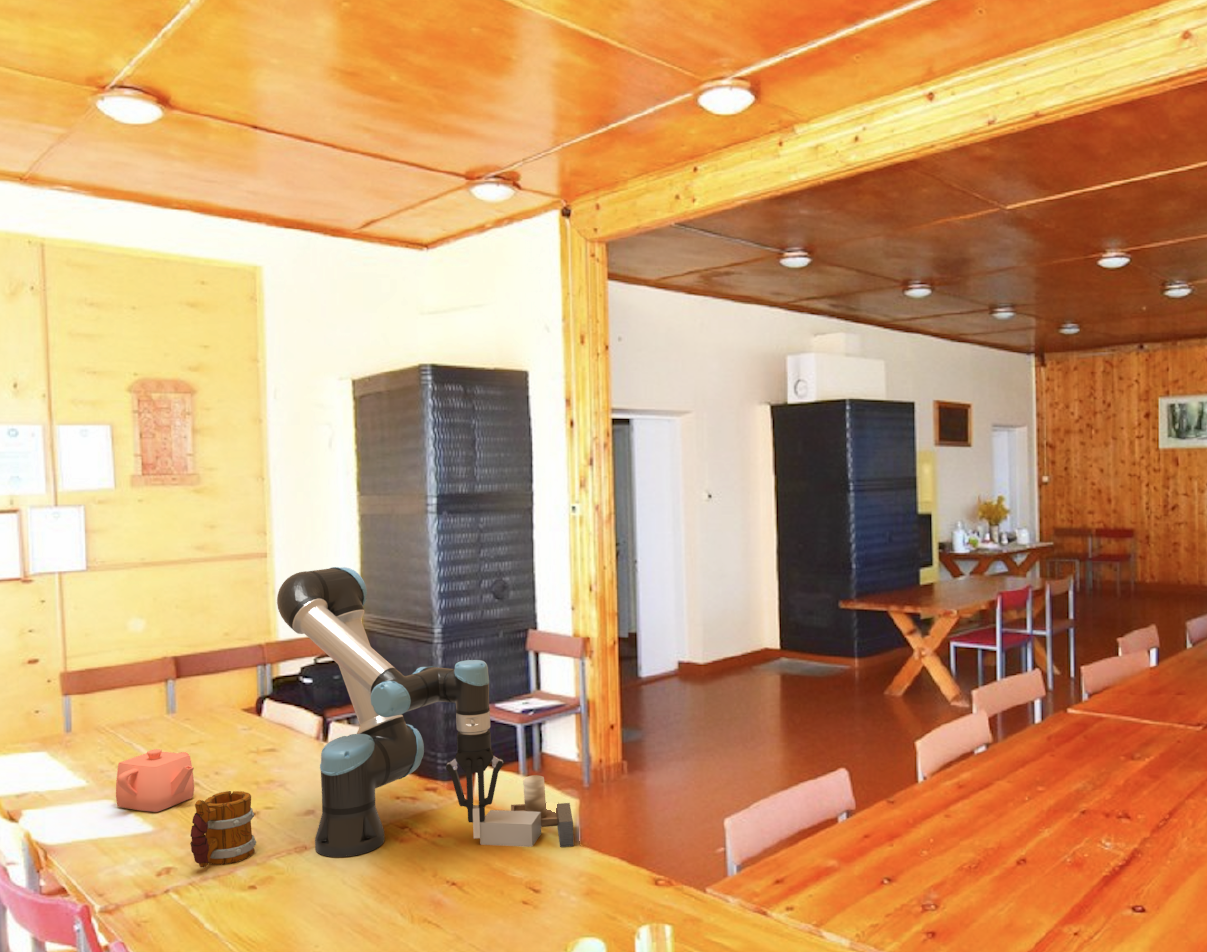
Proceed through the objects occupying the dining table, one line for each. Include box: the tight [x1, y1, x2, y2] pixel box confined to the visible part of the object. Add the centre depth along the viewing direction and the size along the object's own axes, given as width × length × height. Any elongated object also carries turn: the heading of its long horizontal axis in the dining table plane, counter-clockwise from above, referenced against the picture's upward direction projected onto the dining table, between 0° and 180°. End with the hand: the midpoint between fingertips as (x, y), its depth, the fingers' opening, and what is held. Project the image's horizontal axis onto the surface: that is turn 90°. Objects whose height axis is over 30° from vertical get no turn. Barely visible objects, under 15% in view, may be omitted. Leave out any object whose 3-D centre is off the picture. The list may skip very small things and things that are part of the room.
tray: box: [510, 803, 557, 828], centre depth 225 cm, size 12×12×2 cm
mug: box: [190, 790, 257, 868], centre depth 206 cm, size 11×16×15 cm, turn 161°
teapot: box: [115, 748, 195, 813], centre depth 244 cm, size 20×22×14 cm
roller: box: [522, 774, 547, 818], centre depth 225 cm, size 5×5×9 cm
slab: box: [479, 809, 542, 848], centre depth 212 cm, size 12×8×5 cm, turn 79°
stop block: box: [557, 802, 575, 848], centre depth 213 cm, size 3×12×6 cm, turn 6°
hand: (477, 836), depth 210 cm, fingers closed
